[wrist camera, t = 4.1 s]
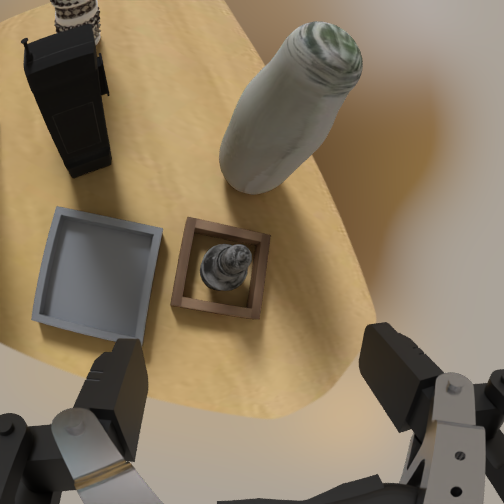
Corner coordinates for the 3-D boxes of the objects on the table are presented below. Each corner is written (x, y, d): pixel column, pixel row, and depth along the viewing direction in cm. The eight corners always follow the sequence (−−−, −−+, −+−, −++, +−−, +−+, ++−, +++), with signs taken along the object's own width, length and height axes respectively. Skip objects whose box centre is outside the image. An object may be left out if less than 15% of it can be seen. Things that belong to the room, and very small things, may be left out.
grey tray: (37, 319, 34) (31, 319, 32) (61, 212, 38) (56, 206, 36) (142, 345, 38) (141, 346, 36) (162, 233, 42) (163, 228, 39)
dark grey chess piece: (248, 279, 44) (281, 265, 33) (211, 300, 42) (233, 294, 31) (226, 242, 44) (252, 216, 33) (189, 262, 42) (203, 241, 31)
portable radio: (111, 129, 42) (99, -6, 19) (120, 162, 42) (106, 27, 18) (63, 146, 39) (19, 20, 16) (70, 179, 39) (15, 57, 16)
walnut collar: (170, 305, 40) (171, 304, 38) (185, 222, 43) (187, 216, 41) (253, 319, 43) (259, 319, 41) (264, 239, 46) (270, 235, 44)
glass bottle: (282, 199, 48) (406, 92, 22) (216, 204, 45) (301, 70, 19) (270, 143, 50) (365, 18, 23) (207, 144, 46) (270, -7, 20)
